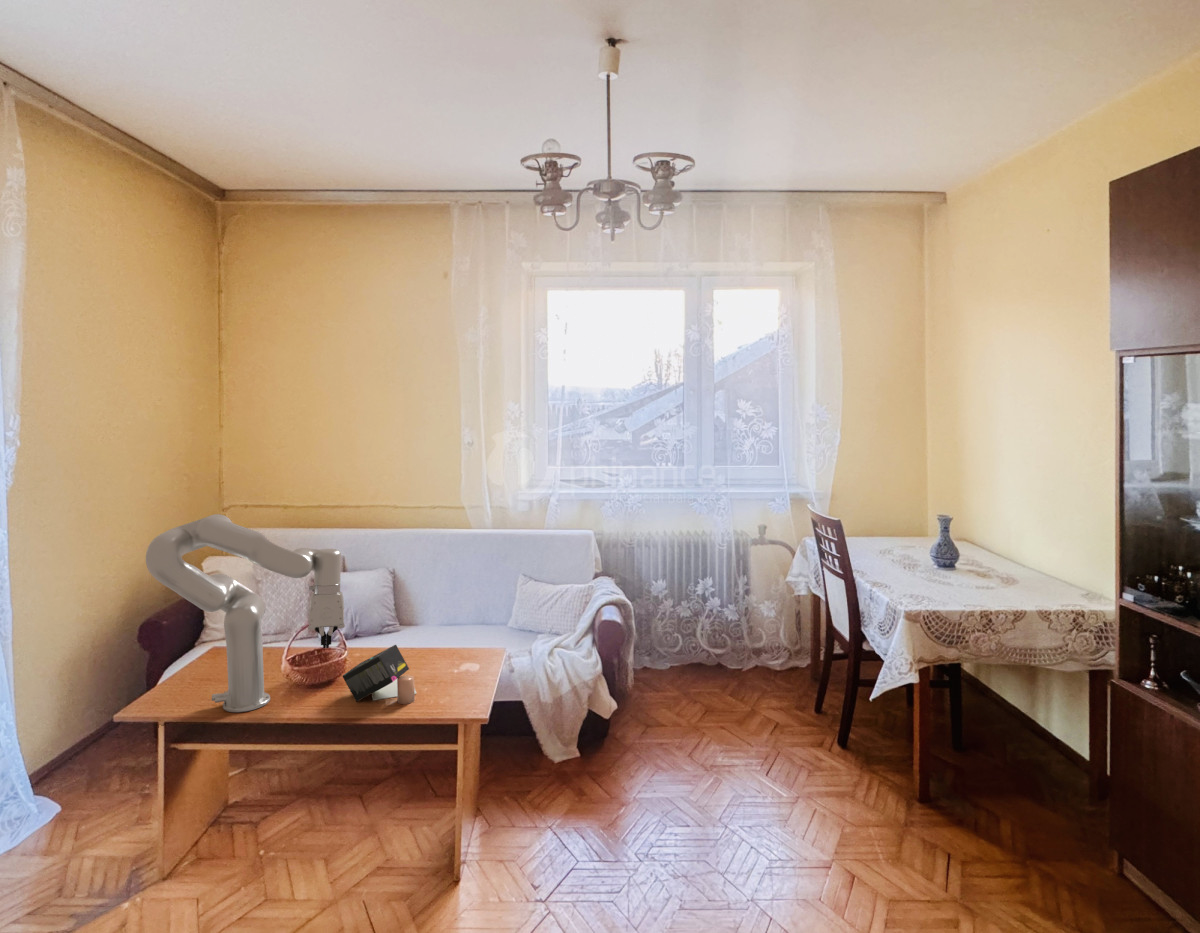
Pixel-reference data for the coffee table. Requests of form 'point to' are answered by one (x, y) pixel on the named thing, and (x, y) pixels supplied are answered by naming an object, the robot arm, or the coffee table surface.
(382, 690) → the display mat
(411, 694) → the peg
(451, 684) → the coffee table surface
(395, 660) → the tampon box
